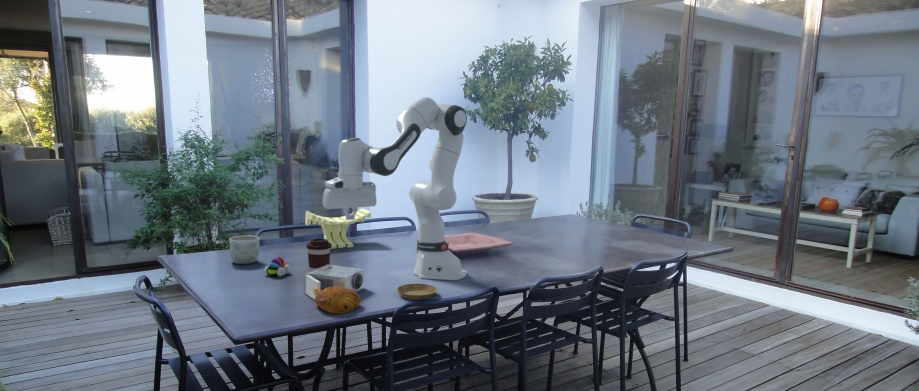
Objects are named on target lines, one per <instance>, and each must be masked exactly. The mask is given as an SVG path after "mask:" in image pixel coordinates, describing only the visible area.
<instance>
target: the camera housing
mask: <svg viewBox="0 0 919 391" xmlns="http://www.w3.org/2000/svg"><path fill="white" fill-rule="evenodd" d="M307 273H308V275H310V276H312V277H313V278H315V279H316V280H318V281H320V291H322V290H324V289H325V288H329V287H333V286H336V287H342V288H347V289H350V290H352V291H354V292H356V293H357V292H359V291H361V290H363V289H364V288H365V269H364V268H360V267H351V266H342V265H334V264H329V265H325V266H323V267H320V268H318V269H316V270H313V271H311V272H310V271H308V272H307Z"/></svg>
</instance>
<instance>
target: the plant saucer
mask: <svg viewBox="0 0 919 391" xmlns="http://www.w3.org/2000/svg"><path fill="white" fill-rule="evenodd" d="M437 290H438V289H437V287H436V286H434V285H432V284H431V285H430V284H427V283H407V284H402V285H400V286H398V287H397V289H396V291H397V292H398V293H399V295H400V296H401V297H403V298H404V299H407V300H415V301H421V300H427V299H429V298H431V297H432V296H434V295H435V294H436V292H438V291H437Z"/></svg>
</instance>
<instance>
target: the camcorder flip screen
mask: <svg viewBox="0 0 919 391" xmlns="http://www.w3.org/2000/svg"><path fill="white" fill-rule="evenodd" d="M303 280H304V294H306V295H307V296H309V297H310V298H312V299H313V300H314V301H315V297H316V295H317V293H318V292H320V281H318V280H316V279H315V278H313V277H312V276H310V275H308V272H306V273H304V279H303Z"/></svg>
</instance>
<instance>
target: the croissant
mask: <svg viewBox="0 0 919 391" xmlns="http://www.w3.org/2000/svg"><path fill="white" fill-rule="evenodd" d="M361 301H362V299H361V296H360V295H359V294H358V293H357V292H354V291H352V290H350V289H347V288H342V287H336V286H333V287H329V288H325V289H324V290H322V291H320V292H318V293H317V295H316V297H315V300H314V302H315V304H316V305H317V306H318V307H319V308H320V309H322V310H323V311H325V312H327V313H331V314H345V313H349V312H351V311H352V310H355V308H356V309H358V307H359V306H360V302H361Z"/></svg>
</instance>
